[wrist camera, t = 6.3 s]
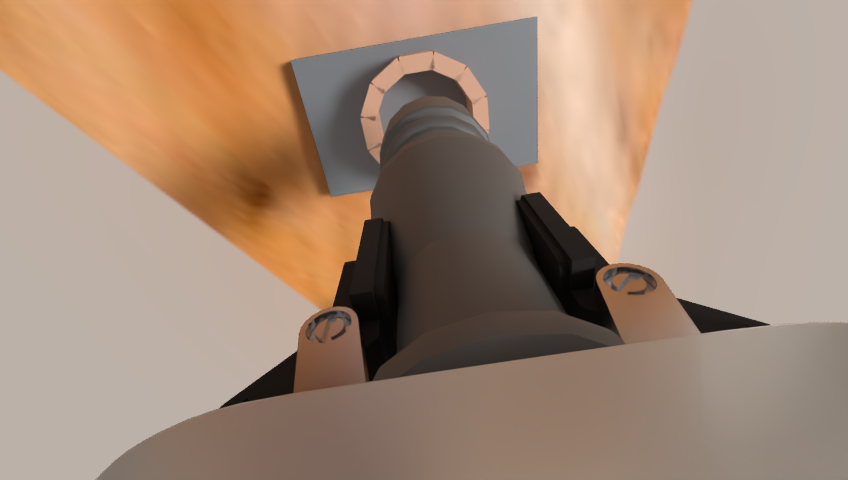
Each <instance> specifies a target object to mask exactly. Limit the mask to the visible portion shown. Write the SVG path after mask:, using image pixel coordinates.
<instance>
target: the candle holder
mask: <svg viewBox="0 0 848 480" xmlns="http://www.w3.org/2000/svg"><path fill="white" fill-rule="evenodd" d="M525 194H526V190H525V186H524V183H523V179H522V175H521V172H520V171H519V170H518V169H517V168H516V167H515V166H514V164H513V163H512V162H511V161H510V160H509V159H508V158H507V156H506V155H505V154H504V153H503V152H502V151H501V149H500V148H499V147H498V146H497V145H495V144H493V143H490V141H489V137H488V134H487V132H486V131H485V130H484V129H483V127H482V126H481V125H480V124H479V123H478V122H477V121H476V119H475V118H474V117H473V116H472V115H471V114H470V112H469V111H468V110H467V109H466V108H465V107H464V106H463V105H462V104H459V103H457V102H455V101H453V100H451V99H449V98H446V97H436V96H423V97H421V98H419V99H416V100H414V101H412V102H409V103H407V104H404V105H403V106H402V107H401V109H400V110H399V111H398V112H397V113H396V114H395V115H394V116H393V117H392V118H391V119H390V121H389V123H388V126H387V129H386V131H385V134H384V137H383V140H382V144H381V149H380V175H379V177H378V180H377V182H376V185H375V187H374V190H373V192H372V195H371V200H370V205H371V219H376V218H383V221H384V222H385V221H389V223H390V241H391V258H392V269H393V276H394V284H395V291H396V298H397V303H398V316H397V354H396V355H395V356H394V357H392V358H391V359H390V360H388V361H387V362H386V363H384V364H383V365H382V366H380V368H379V369H378V371H377V373H376V375H375V377H374V379H373V381H377V380H384V379H391V378H397V377H404V376H411V375H418V374H425V373H432V372H438V371H445V370H452V369H459V368H466V367H473V366H479V365H486V364H493V363H500V362H506V361H513V360H520V359H527V358H534V357H541V356H548V355H555V354H562V353H568V352H575V351H582V350H589V349H596V348H603V347H610V346H617V345H624V344H626V343H625V342H624V341H623V340H622V339H621V338H620V337H619V336H618V335H617V334H615V333H614V332H613V331H611V330H609V329H607V328H604V327H601V326H598V325H595V324H592V323H589V322H587V321H584V320H581V319H578V318H575V317H572V316H569V315H567V313H566V311H565V310H564V308H563V306H562V305H561V303H560V301H559V299H558V298H557V296H556V294H555V293H554V291H553V289H552V288H551V286H550V284H549V282H548V281H547V279H546V277H545V276H544V274H543V272H542V271H541V269H540V267H539V266H538V264H537V261H536V257H535V253H534V248H533V244H532V241H531V238H530V236H529V233H528V231H527V228H526V225H525V223H524V220H523V217H522V215H521V212H520V209H519V207H518V204H517V201H516V200H520V199H521V195H525Z"/></svg>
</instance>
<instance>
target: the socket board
mask: <svg viewBox="0 0 848 480" xmlns="http://www.w3.org/2000/svg"><path fill="white" fill-rule="evenodd" d="M290 61H291V64H292V68H293V71H294V74H295V78H296V81H297V84H298V88H299V91H300V94H301V98H302V101H303V104H304V108H305V111H306V114H307V118H308V121H309V124H310V128H311V131H312V134H313V138H314V141H315V144H316V148H317V151H318V154H319V158H320V161H321V164H322V168H323V171H324V175H325V178H326V181H327V185H328V188H329V191H330V195H331V197H333V196H339V195H345V194H352V193H358V192H364V191H370V190H374V187H375V185H376V182H377V180H378V177H379V175H380V149H381V144H382V140H383V137H384V134H385V131H386V129H387V126H388V123H389V121H390V119H391V118H392V117H393V116H394V115H395V114H396V113H397V112H398V111H399V110H400V109H401V107H402V106H403V105H404V104H407V103H409V102H412V101H414V100H416V99H419V98H421V97H423V96H436V97H446V98H449V99H451V100H453V101H455V102H457V103H459V104H462V105H463V106H464V107H465V108H466V109H467V110H468V111H469V112H470V114H471V115H472V116H473V117H474V118H475V119H476V121H477V122H478V123H479V124H480V125H481V126H482V127H483V129H484V130H485V131H486V132H487V134H488V137H489V141H490V143H493V144H495V145H497V146H498V147H499V148H500V149H501V151H502V152H503V153H504V154H505V155H506V156H507V158H508V159H509V160H510V161H511V162H512V163H513V164H514V166H515V167H516V166H523V165H529V164H535V163H538V84H537V17H531V18H526V19H520V20H515V21H509V22H503V23H498V24H492V25H486V26H481V27H475V28H469V29H464V30H458V31H452V32H447V33H441V34H436V35H430V36H424V37H419V38H413V39H407V40H402V41H396V42H390V43H385V44H379V45H373V46H368V47H362V48H357V49H351V50H345V51H340V52H334V53H328V54H323V55H317V56H311V57H306V58H300V59H295V60H290Z"/></svg>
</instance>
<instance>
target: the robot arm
mask: <svg viewBox="0 0 848 480" xmlns="http://www.w3.org/2000/svg"><path fill="white" fill-rule="evenodd" d="M516 201H517V204H518V207H519V209H520V212H521V215H522V217H523V220H524V223H525V225H526V228H527V231H528V233H529V236H530V238H531V241H532V244H533V248H534V253H535V257H536V261H537V264H538V266H539V267H540V269H541V271H542V272H543V274H544V276H545V277H546V279H547V281H548V282H549V284H550V286H551V288H552V289H553V291H554V293H555V294H556V296H557V298H558V299H559V301H560V303H561V305H562V306H563V308H564V310H565V311H566V313H567V315H569V316H572V317H575V318H578V319H581V320H584V321H587V322H589V323H592V324H595V325H598V326H601V327H604V328H607V329H609V330H611V331H613V332H614V333H615V334H617V335H618V336H619V337H620V338H621V339H622V340H623V341H624V342H625V343H626V344H624V345H617V346H610V347H603V348H596V349H589V350H582V351H575V352H568V353H562V354H555V355H548V356H541V357H534V358H527V359H520V360H513V361H506V362H500V363H493V364H486V365H479V366H473V367H466V368H459V369H452V370H445V371H438V372H432V373H425V374H418V375H411V376H404V377H397V378H391V379H384V380H377V381H373V379H374V377H375V375H376V373H377V371H378V369H379V368H380V366H382V365H383V364H384V363H386V362H387V361H388V360H390V359H391V358H392V357H394V356H395V355H396V354H397V316H398V303H397V298H396V291H395V284H394V276H393V269H392V258H391V241H390V223H389V221H385V222H384V221H383V218H376V219H370V220H365V222H364V227H363V232H362V236H361V241H360V246H359V250H358V255H357V259H356V261H350V262H345V264H344V267H343V271H342V274H341V278H340V282H339V286H338V289H337V293H336V297H335V301H334V304H333V307H331V308H327V309H324V310H322V311H319V312H318V313H316V314H315V315H313V316H311V317H310V318H309V319H308V320H307V321H306V322H305V323H304V324H303V326H302V327H301V329H300V333H299V339H298V350H297V352H295V353H294V354H292V355H291V356H289V357H288V358H287V359H285V360H284V361H283V362H281V363H280V364H278V365H277V366H276V367H274V368H273V369H272V370H270V371H269V372H267V373H266V374H265V375H263V376H262V377H261V378H259V379H258V380H256V381H255V382H254V383H252V384H251V385H249V386H248V387H247V388H245V389H244V390H243V391H241V392H240V393H238V394H237V395H236V396H234V397H233V398H231V399H230V400H229V401H228V402H226V403H225V404H224V405H222V406H221V407H220V408H219V409H216V410H213V411H210V412H207V413H204V414H202V415H199V416H196V417H193V418H190V419H187V420H185V421H183V422H181V423H178V424H176V425H174V426H172V427H170V428H167V429H165V430H163V431H161V432H159V433H157V434H155V435H153V436H152V437H149V438H148V439H146V440H144V441H142V442H141V443H139V444H137V445H136V446H134V447H133V448H131V449H130V450H128V451H127V452H126V453H124V454H123V455H122V456H120V457H119V458H118V459H117V460H115V461H114V462H113V463H112V464H111V465H110V466H109V467H108V468H107V469H106V470H105V471H104V472H102V474H100V476H99V477H98V478H97V479H96V480H848V323H843V322H811V323H810V322H809V323H788V324H778V325H769V324H766V323H763V322H759V321H756V320H752V319H749V318H745V317H741V316H738V315H735V314H731V313H728V312H724V311H720V310H717V309H713V308H710V307H706V306H703V305H699V304H696V303H692V302H689V301H685V300H682V299H678V298H676V297H675V296H674V294H673V293H672V291H671V290H670V289H669V287H668V286H667V284H666V283H665V282H664V280H663V279H662V278H661V277H660V276H659V275H658V274H657V273H655V272H654V271H652V270H650V269H648V268H645V267H642V266H640V265H634V264H623V263H619V264H611V265H609V264H608V263H607V261H606V260H605V259H604V258H603V257H602V256H601V255H600V254H599V253H598V251H597V250H596V249H595V248H594V247H593V246H592V245H591V244H590V243H589V241H588V240H587V239H586V238H585V237H584V236H583V235H582V234H581V233H580V231H579V230H578V229H577V228H575V227H570V226H569V225H568V224H567V223H566V222H565V221H564V219H563V218H562V217H561V216H560V215H559V214H558V213H557V211H556V210H555V209H554V208H553V207H552V206H551V204H550V203H549V202H548V201H547V200H546V199H545V198H544V196H543V195H542V194H541V193H540V192H537V193H531V194H525V195H521V199H520V200H516Z"/></svg>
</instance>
